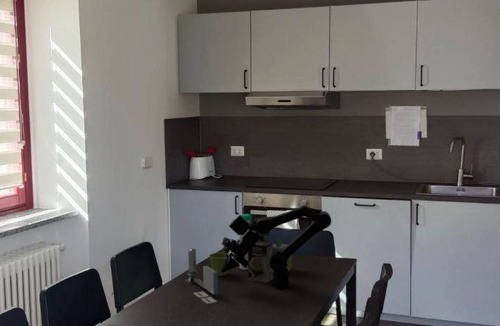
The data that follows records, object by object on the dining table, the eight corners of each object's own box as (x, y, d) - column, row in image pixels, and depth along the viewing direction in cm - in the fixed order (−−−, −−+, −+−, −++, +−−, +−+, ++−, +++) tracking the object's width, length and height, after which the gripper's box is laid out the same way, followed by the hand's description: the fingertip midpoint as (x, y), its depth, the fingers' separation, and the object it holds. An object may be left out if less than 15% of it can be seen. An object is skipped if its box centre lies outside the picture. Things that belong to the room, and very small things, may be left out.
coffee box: (247, 280, 268) (247, 243, 266) (254, 276, 274) (254, 240, 272) (266, 283, 264) (266, 245, 262) (273, 279, 269) (272, 242, 268)
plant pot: (231, 271, 282) (231, 252, 281) (228, 277, 272) (228, 258, 271) (211, 271, 283) (210, 252, 282) (207, 277, 273) (207, 258, 272)
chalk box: (285, 274, 276) (284, 241, 274) (266, 272, 280) (265, 240, 278) (292, 269, 284) (292, 237, 283) (274, 267, 288) (273, 235, 286)
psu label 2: (216, 302, 240) (216, 301, 240) (207, 304, 238) (207, 302, 238) (210, 297, 245) (210, 296, 245) (201, 299, 243) (201, 298, 243)
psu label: (208, 296, 247) (208, 295, 247) (199, 298, 245) (199, 296, 245) (202, 292, 252) (202, 291, 252) (193, 293, 251) (193, 292, 250)
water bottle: (252, 270, 283) (252, 216, 280) (237, 269, 284) (236, 215, 281) (255, 266, 290) (255, 213, 287) (241, 265, 291) (240, 213, 288)
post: (200, 282, 266) (199, 250, 265) (189, 283, 264) (188, 251, 263) (196, 279, 271) (195, 247, 269) (185, 280, 268) (184, 248, 267)
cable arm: (193, 281, 265) (192, 259, 264) (196, 280, 265) (196, 259, 264) (214, 295, 245) (213, 272, 244) (217, 295, 246) (217, 272, 245)
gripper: (226, 226, 263) (202, 254, 260) (240, 235, 245) (214, 265, 243) (244, 242, 266) (220, 270, 264) (259, 253, 249) (233, 282, 246)
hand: (221, 271), depth 254 cm, fingers closed
